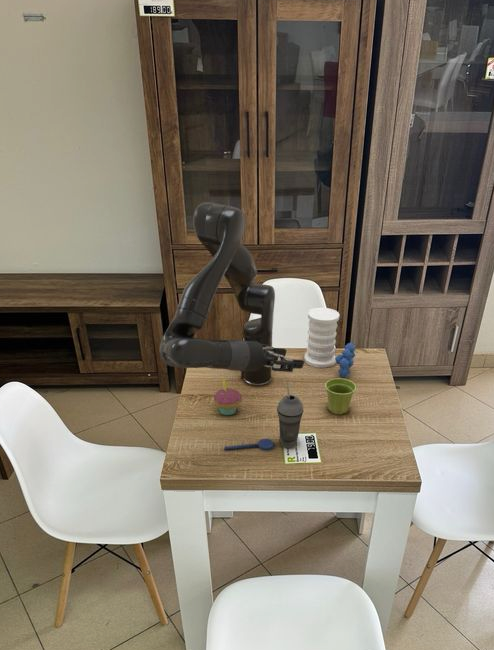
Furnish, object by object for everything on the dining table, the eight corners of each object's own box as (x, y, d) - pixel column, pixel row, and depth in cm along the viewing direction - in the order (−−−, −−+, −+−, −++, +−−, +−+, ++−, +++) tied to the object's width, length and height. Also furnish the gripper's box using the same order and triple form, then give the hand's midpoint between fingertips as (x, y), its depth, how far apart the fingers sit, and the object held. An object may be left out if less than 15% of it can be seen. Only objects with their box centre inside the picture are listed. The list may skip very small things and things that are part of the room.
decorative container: (302, 352, 201) (305, 307, 191) (333, 352, 202) (337, 307, 192) (305, 367, 191) (308, 320, 182) (338, 367, 192) (343, 320, 183)
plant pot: (351, 419, 165) (354, 395, 161) (320, 415, 167) (323, 391, 162) (354, 403, 173) (357, 380, 168) (325, 399, 174) (327, 376, 170)
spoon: (225, 454, 149) (225, 451, 148) (223, 444, 152) (223, 442, 152) (275, 449, 151) (275, 447, 151) (272, 440, 155) (272, 437, 154)
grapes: (338, 366, 194) (341, 335, 187) (356, 370, 192) (360, 339, 185) (328, 381, 184) (331, 349, 178) (347, 385, 182) (351, 353, 176)
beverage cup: (292, 454, 150) (296, 393, 139) (270, 445, 153) (272, 384, 142) (306, 441, 155) (310, 381, 144) (284, 432, 158) (287, 373, 147)
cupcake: (208, 410, 166) (206, 376, 160) (229, 400, 172) (228, 367, 165) (227, 422, 162) (226, 387, 155) (247, 411, 167) (248, 377, 160)
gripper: (258, 350, 127) (312, 354, 137) (230, 331, 138) (282, 336, 147) (251, 380, 130) (305, 381, 139) (224, 359, 140) (276, 362, 150)
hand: (293, 358), depth 143 cm, fingers open, 8 cm apart
